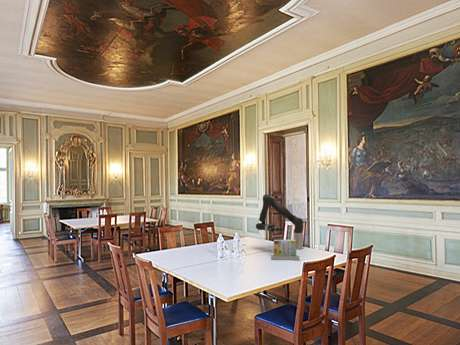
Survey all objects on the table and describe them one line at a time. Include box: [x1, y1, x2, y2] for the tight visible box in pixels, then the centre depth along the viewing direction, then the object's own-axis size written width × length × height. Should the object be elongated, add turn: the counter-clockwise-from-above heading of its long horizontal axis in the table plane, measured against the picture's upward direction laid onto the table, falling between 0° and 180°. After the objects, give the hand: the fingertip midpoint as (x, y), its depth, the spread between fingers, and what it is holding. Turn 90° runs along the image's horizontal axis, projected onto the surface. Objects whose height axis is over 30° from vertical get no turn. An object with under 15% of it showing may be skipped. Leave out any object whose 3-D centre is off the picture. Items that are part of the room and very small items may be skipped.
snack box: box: [273, 239, 297, 256], centre depth 313 cm, size 21×6×15 cm, turn 84°
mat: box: [270, 255, 301, 261], centre depth 301 cm, size 16×26×1 cm, turn 81°
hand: (280, 229), depth 321 cm, fingers open, 4 cm apart
